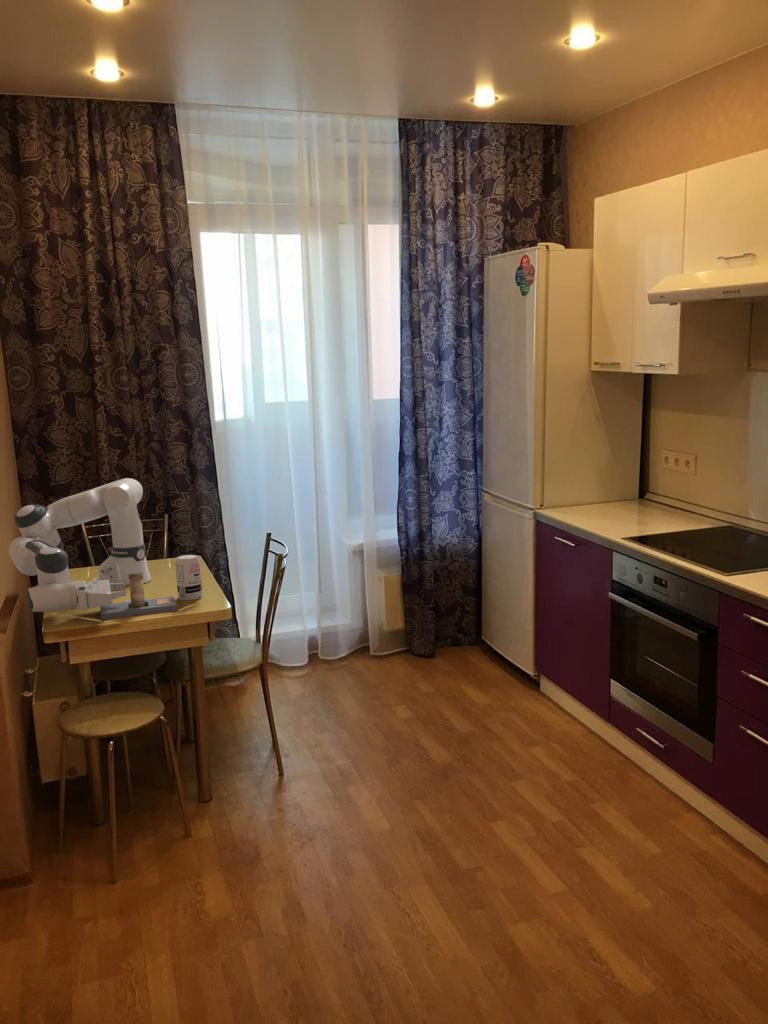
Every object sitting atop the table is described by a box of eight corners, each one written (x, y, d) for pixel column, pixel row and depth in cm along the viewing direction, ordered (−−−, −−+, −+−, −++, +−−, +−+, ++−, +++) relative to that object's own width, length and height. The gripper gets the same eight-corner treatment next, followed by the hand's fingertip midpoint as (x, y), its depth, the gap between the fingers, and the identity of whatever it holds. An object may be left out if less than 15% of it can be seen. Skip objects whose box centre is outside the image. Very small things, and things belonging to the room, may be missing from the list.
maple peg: (128, 613, 279) (125, 574, 277) (138, 609, 283) (135, 571, 281) (138, 614, 277) (135, 576, 275) (148, 610, 281) (145, 573, 279)
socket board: (101, 621, 271) (100, 613, 271) (100, 612, 281) (99, 604, 281) (177, 611, 279) (177, 604, 278) (174, 603, 289) (173, 595, 289)
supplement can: (182, 595, 298) (179, 554, 296) (205, 595, 298) (202, 554, 295) (174, 602, 291) (171, 559, 288) (198, 602, 290) (195, 559, 287)
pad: (125, 608, 285) (125, 606, 285) (124, 602, 293) (124, 600, 293) (149, 605, 288) (149, 603, 288) (148, 599, 295) (147, 597, 295)
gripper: (81, 595, 283) (124, 591, 287) (82, 612, 264) (128, 606, 268) (80, 577, 282) (123, 573, 286) (80, 592, 263) (126, 587, 267)
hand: (125, 589), depth 277 cm, fingers open, 8 cm apart
